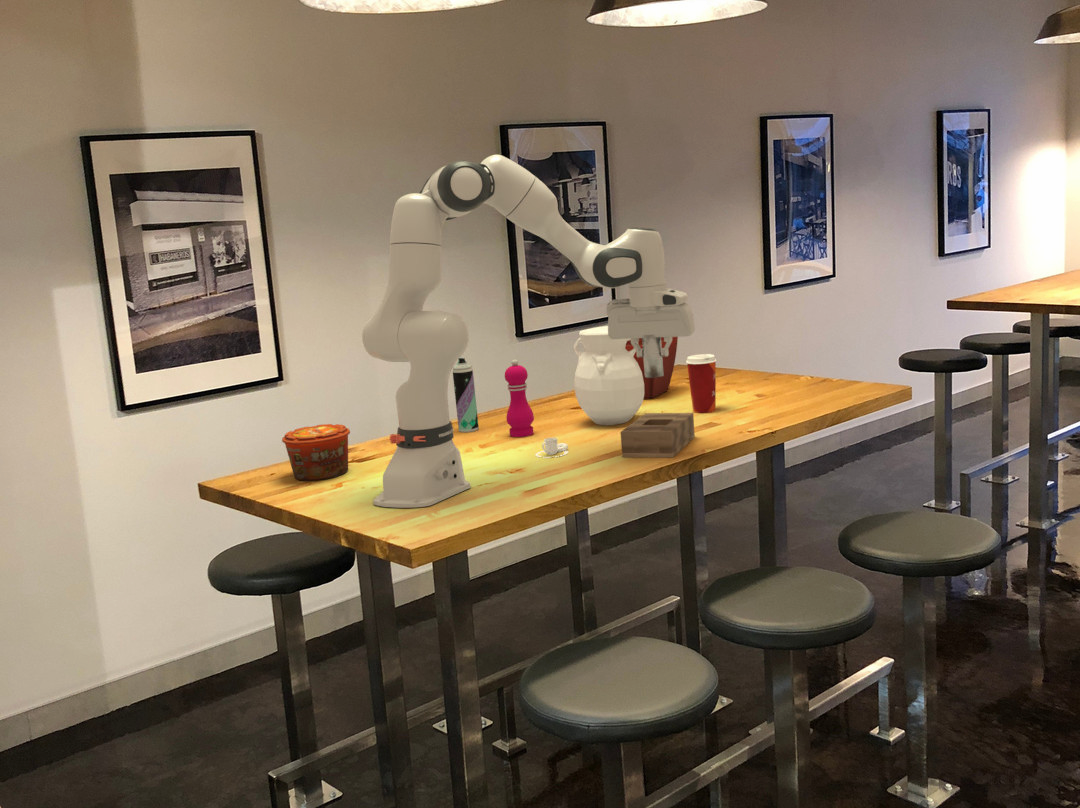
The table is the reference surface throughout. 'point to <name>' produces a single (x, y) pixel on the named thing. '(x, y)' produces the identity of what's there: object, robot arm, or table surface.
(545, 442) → the teacup and saucer
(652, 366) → the pin
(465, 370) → the spray can
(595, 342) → the pitcher
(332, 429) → the food container
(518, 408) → the pepper mill
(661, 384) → the plant pot
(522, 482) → the table surface
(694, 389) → the coffee cup
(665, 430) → the socket block
